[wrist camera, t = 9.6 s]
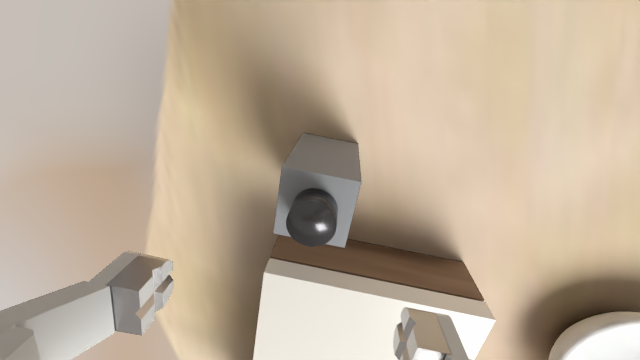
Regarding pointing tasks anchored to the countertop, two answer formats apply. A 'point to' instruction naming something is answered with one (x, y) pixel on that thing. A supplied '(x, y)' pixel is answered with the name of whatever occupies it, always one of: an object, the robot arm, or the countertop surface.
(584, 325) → the spoon rest
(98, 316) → the robot arm
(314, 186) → the block
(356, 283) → the plate
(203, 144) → the countertop surface
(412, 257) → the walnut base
